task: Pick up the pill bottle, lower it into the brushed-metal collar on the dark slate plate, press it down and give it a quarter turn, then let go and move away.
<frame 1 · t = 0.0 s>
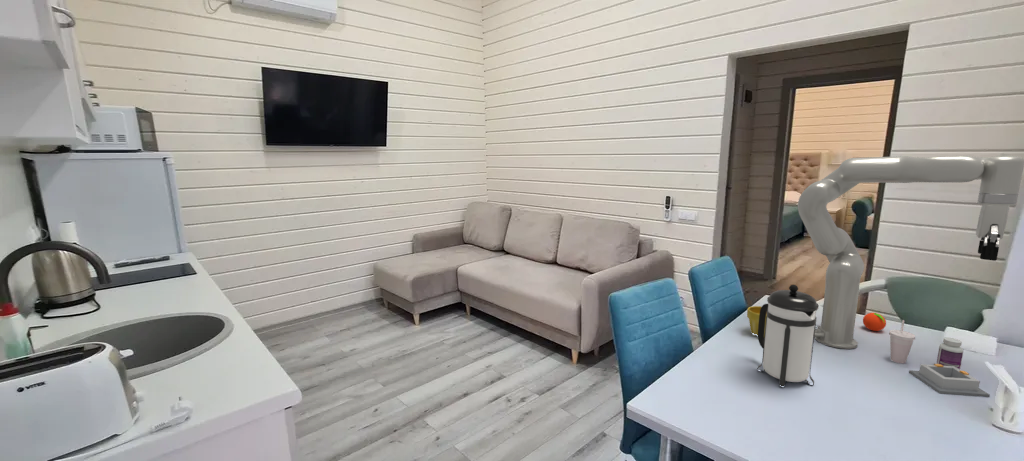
hand: (986, 256, 125), 37 cm above the table, tool pointing down, fingers open, 9 cm apart
socket: (946, 384, 125), on the table
pill bottle: (947, 368, 134), on the table
plant pot: (760, 335, 161), on the table
smoothie: (898, 361, 139), on the table
coffee press: (780, 376, 131), on the table
clementine: (874, 331, 163), on the table
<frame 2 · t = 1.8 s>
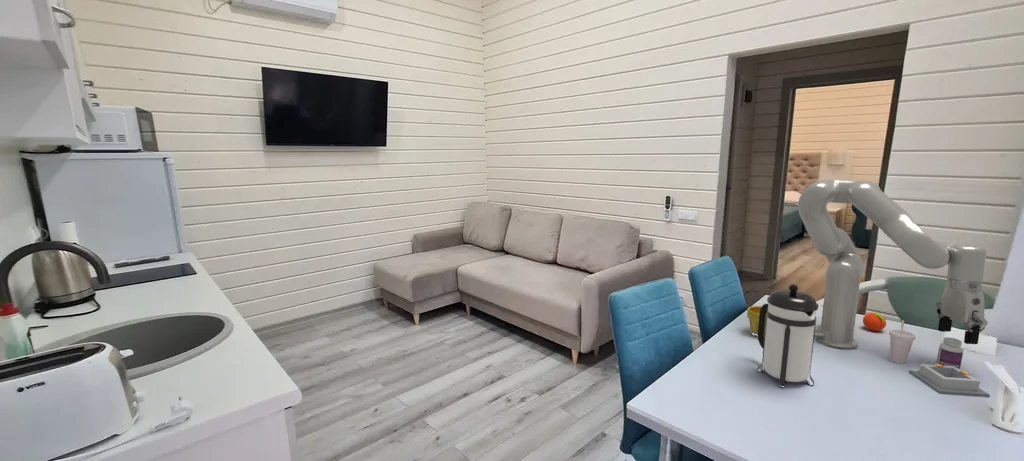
hand: (957, 337, 132), 11 cm above the table, tool pointing down, fingers open, 9 cm apart
nothing on the table moved.
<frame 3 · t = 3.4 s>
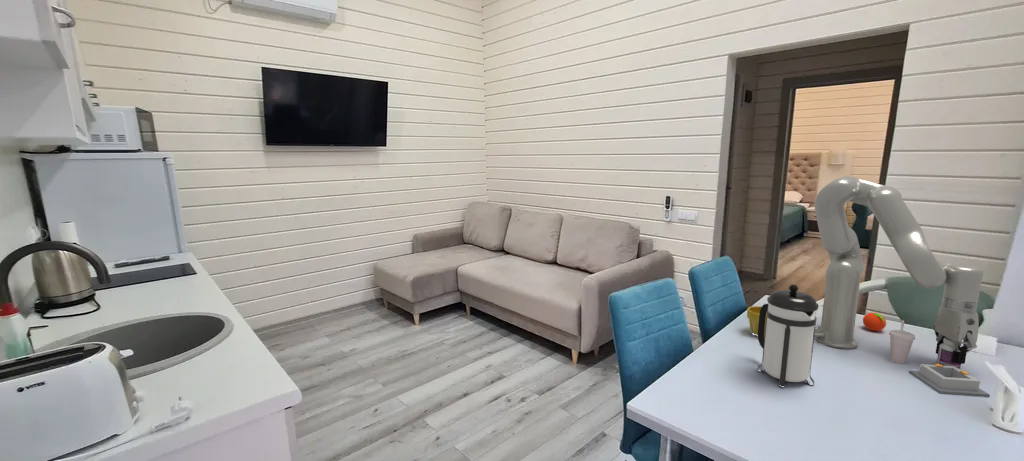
hand: (949, 357, 134), 3 cm above the table, tool pointing down, fingers closed on pill bottle, 5 cm apart
pill bottle: (947, 368, 134), on the table, touching gripper
everything else where it was.
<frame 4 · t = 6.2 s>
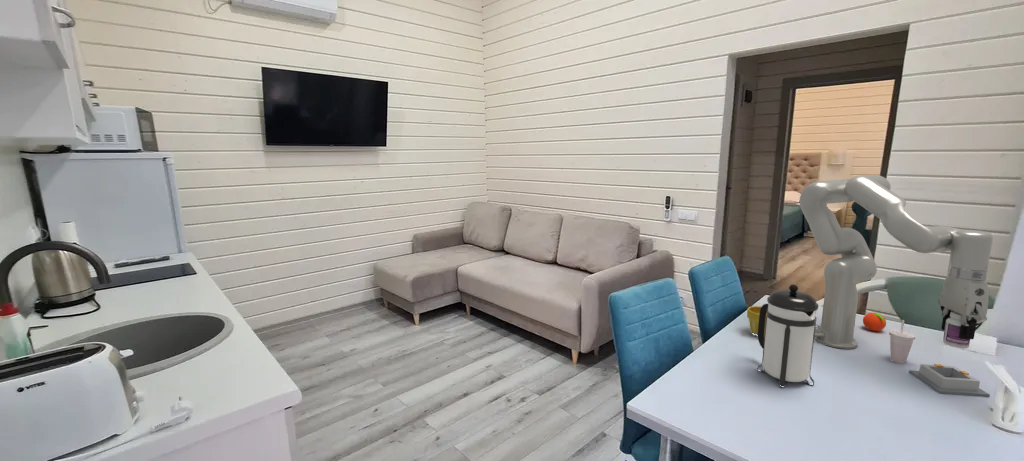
hand: (957, 333, 122), 16 cm above the table, tool pointing down, fingers closed on pill bottle, 5 cm apart
pill bottle: (955, 345, 123), point 12 cm above the table, touching gripper
everything else where it was.
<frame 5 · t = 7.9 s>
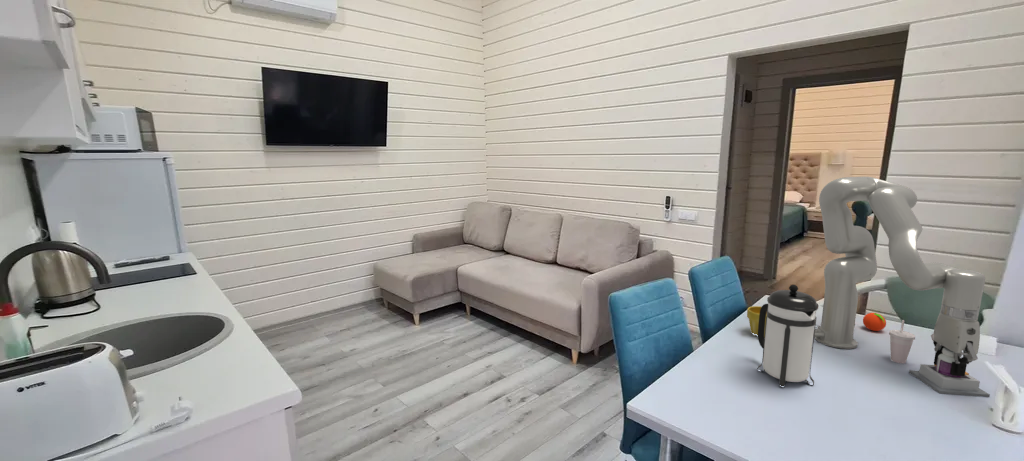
hand: (948, 369, 124), 5 cm above the table, tool pointing down, fingers closed on pill bottle, 5 cm apart
pill bottle: (946, 381, 125), point 1 cm above the table, touching gripper
everything else where it was.
when the fingers open (5 cm above the table, at t = 9.3 s): pill bottle stays where it is, resting on socket.
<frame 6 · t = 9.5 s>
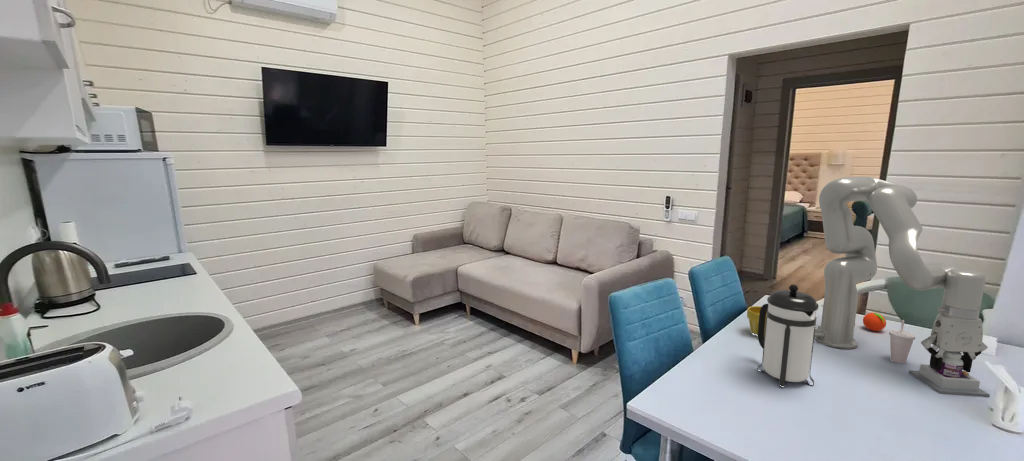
hand: (949, 368, 124), 5 cm above the table, tool pointing down, fingers open, 6 cm apart
pill bottle: (946, 382, 125), point 1 cm above the table, touching socket
everything else where it was.
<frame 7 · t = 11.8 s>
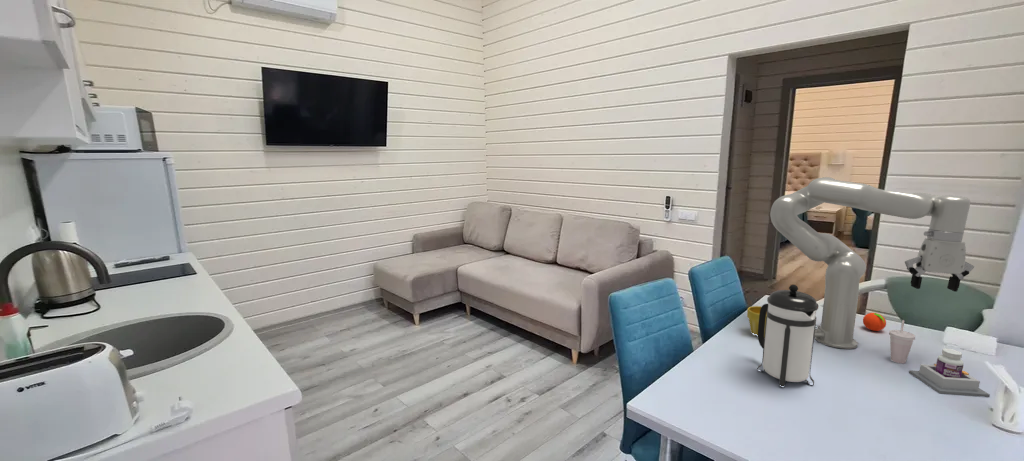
hand: (933, 288, 133), 26 cm above the table, tool pointing down, fingers open, 9 cm apart
nothing on the table moved.
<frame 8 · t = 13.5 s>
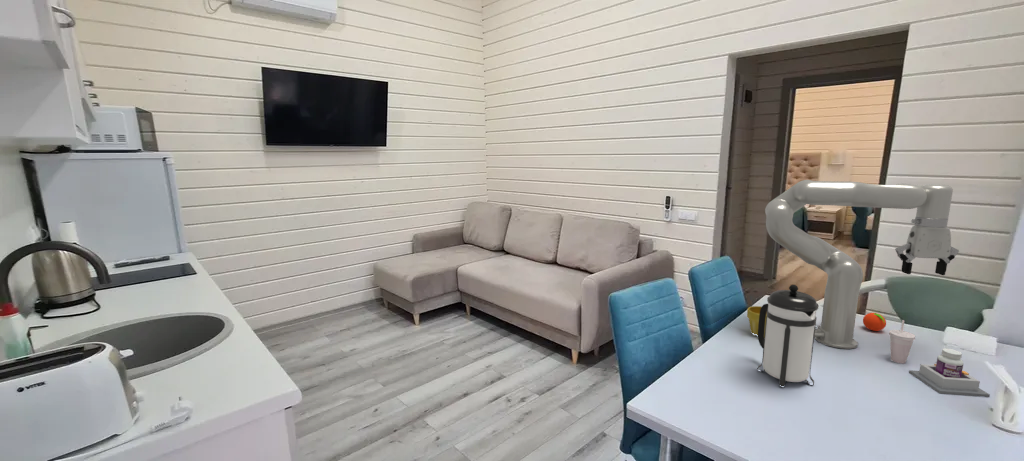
hand: (922, 273, 140), 28 cm above the table, tool pointing down, fingers open, 9 cm apart
nothing on the table moved.
at the end: pill bottle 0.1 cm off-centre on the socket, point 0.6 cm above the socket's base; pill bottle tilted 0°; the gripper is holding nothing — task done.
